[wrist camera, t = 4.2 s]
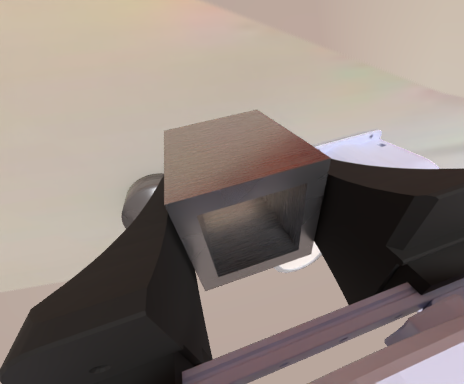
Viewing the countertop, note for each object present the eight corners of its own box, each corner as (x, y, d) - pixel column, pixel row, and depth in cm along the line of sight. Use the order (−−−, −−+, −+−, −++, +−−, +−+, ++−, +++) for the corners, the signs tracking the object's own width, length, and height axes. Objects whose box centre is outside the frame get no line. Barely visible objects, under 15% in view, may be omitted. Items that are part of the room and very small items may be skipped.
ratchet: (249, 149, 20) (269, 173, 16) (253, 200, 24) (270, 228, 20) (112, 184, 18) (97, 221, 14) (143, 232, 23) (138, 270, 19)
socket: (257, 109, 10) (331, 157, 6) (260, 183, 14) (311, 254, 9) (164, 130, 10) (164, 204, 5) (190, 203, 13) (205, 291, 8)
